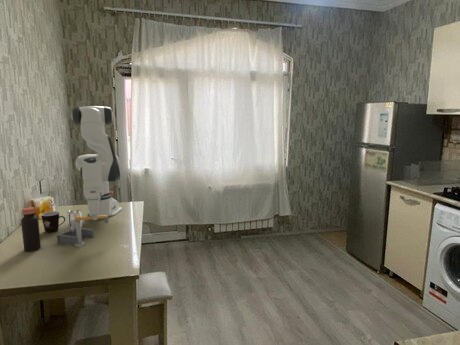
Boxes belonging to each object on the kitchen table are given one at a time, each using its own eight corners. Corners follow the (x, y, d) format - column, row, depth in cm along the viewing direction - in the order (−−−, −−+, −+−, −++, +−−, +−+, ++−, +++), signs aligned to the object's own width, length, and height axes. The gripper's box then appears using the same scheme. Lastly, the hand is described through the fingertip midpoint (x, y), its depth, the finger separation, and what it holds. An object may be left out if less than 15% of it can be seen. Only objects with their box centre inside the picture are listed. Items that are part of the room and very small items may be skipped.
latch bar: (74, 226, 152) (74, 218, 151) (75, 224, 154) (75, 216, 154) (108, 223, 157) (107, 215, 156) (108, 221, 159) (107, 213, 159)
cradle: (74, 234, 169) (72, 212, 167) (97, 237, 166) (96, 214, 164) (55, 243, 157) (53, 219, 154) (80, 246, 154) (78, 222, 151)
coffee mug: (39, 232, 172) (37, 214, 171) (54, 227, 180) (52, 210, 178) (52, 236, 167) (51, 217, 165) (67, 231, 174) (66, 213, 173)
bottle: (20, 250, 149) (16, 209, 145) (34, 245, 155) (30, 205, 151) (30, 253, 146) (25, 211, 143) (44, 247, 152) (40, 207, 149)
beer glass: (65, 241, 159) (63, 213, 157) (74, 236, 166) (72, 209, 164) (78, 242, 158) (76, 213, 156) (86, 237, 165) (84, 209, 163)
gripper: (87, 188, 160) (89, 214, 163) (85, 196, 142) (87, 226, 144) (101, 187, 163) (102, 213, 165) (100, 195, 144) (102, 225, 146)
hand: (95, 219), depth 154 cm, fingers closed
